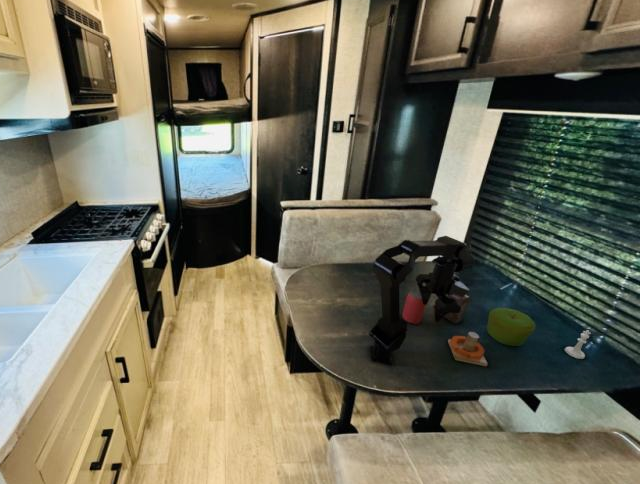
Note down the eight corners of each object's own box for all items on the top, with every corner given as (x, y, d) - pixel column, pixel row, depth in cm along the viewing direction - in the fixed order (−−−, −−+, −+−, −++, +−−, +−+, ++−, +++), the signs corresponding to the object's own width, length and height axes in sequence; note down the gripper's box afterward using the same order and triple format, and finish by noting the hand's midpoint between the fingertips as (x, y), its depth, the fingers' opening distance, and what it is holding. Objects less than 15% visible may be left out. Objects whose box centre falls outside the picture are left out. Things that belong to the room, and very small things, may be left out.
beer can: (418, 326, 119) (426, 301, 114) (400, 319, 122) (406, 294, 117) (421, 317, 124) (429, 292, 118) (403, 311, 127) (410, 286, 122)
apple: (512, 329, 117) (523, 304, 113) (534, 353, 106) (548, 327, 102) (475, 325, 119) (485, 301, 115) (493, 349, 108) (505, 323, 104)
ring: (488, 360, 102) (490, 356, 102) (459, 358, 103) (460, 354, 103) (472, 340, 111) (473, 336, 110) (445, 338, 112) (446, 334, 111)
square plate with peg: (486, 366, 102) (495, 347, 98) (455, 360, 104) (462, 341, 101) (477, 346, 109) (484, 328, 106) (447, 341, 112) (454, 323, 108)
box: (440, 315, 125) (448, 290, 120) (447, 312, 126) (456, 287, 121) (454, 324, 120) (463, 299, 115) (462, 321, 121) (471, 296, 116)
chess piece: (586, 361, 103) (601, 338, 99) (566, 355, 106) (580, 332, 101) (582, 351, 107) (595, 328, 103) (562, 345, 109) (575, 323, 105)
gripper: (486, 292, 92) (470, 332, 99) (453, 260, 109) (441, 297, 116) (447, 290, 93) (433, 330, 100) (420, 259, 110) (410, 296, 117)
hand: (430, 312), depth 108 cm, fingers open, 9 cm apart
